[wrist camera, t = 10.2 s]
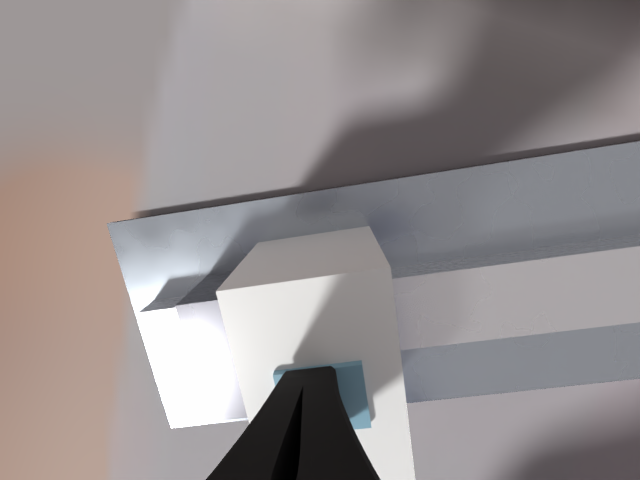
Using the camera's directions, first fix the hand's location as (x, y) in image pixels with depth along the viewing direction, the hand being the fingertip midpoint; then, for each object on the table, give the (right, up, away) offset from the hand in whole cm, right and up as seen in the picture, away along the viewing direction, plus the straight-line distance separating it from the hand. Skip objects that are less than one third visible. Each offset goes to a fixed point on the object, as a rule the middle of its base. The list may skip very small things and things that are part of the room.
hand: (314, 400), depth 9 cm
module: (0, +1, +5) cm, 5 cm away
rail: (+5, +2, +5) cm, 8 cm away
